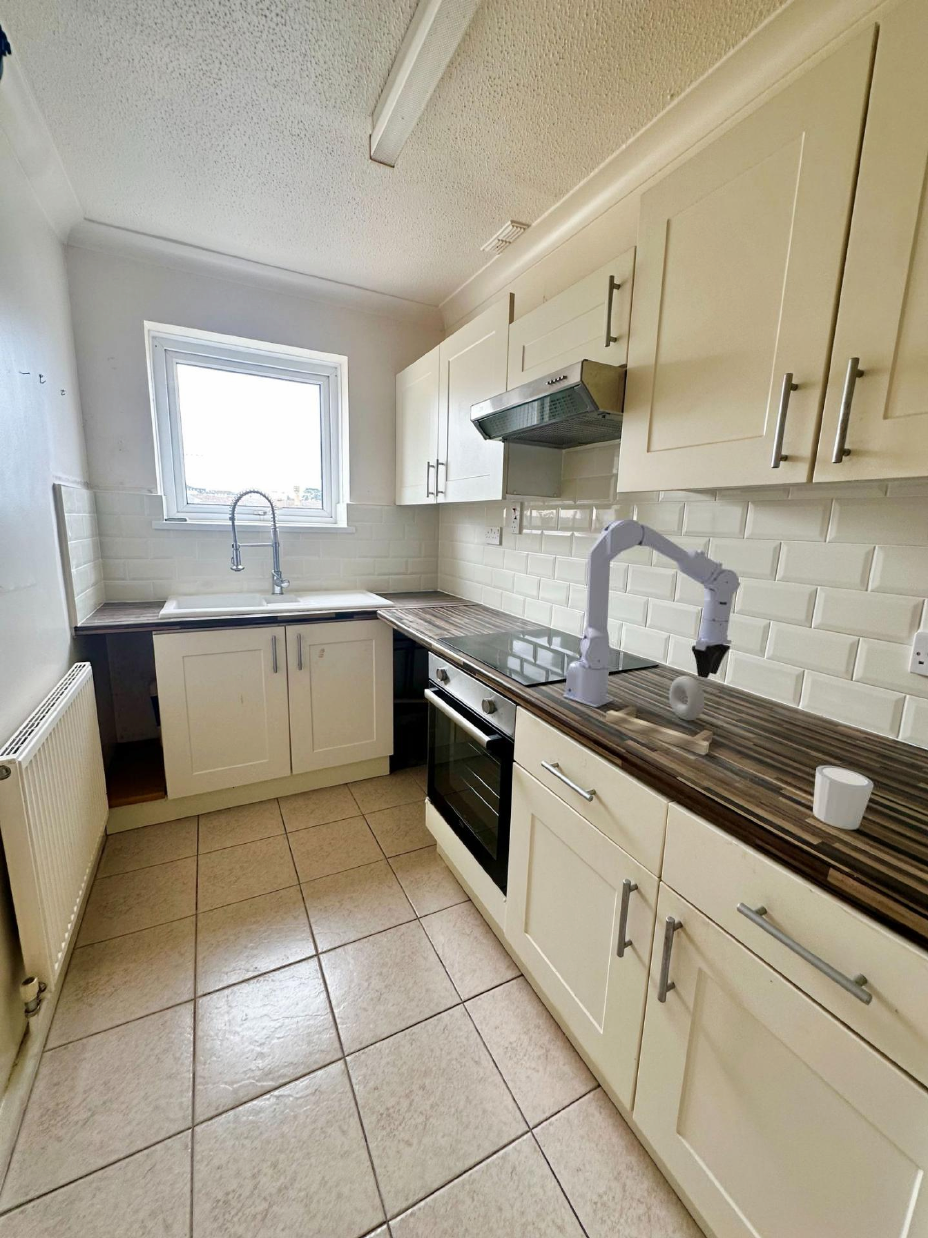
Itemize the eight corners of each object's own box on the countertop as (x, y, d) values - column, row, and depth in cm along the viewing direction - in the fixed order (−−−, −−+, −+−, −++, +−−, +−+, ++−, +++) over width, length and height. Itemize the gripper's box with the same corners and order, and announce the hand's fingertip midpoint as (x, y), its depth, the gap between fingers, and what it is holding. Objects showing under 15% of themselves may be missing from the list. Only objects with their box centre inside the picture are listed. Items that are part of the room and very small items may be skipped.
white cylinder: (872, 837, 70) (882, 792, 69) (815, 824, 72) (823, 781, 71) (854, 812, 76) (863, 770, 75) (802, 801, 79) (810, 761, 77)
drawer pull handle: (605, 720, 108) (606, 712, 108) (623, 712, 114) (624, 704, 113) (703, 755, 94) (705, 745, 93) (719, 744, 99) (720, 734, 99)
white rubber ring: (704, 727, 107) (711, 684, 105) (691, 728, 107) (697, 684, 105) (676, 709, 117) (681, 669, 115) (663, 710, 116) (668, 670, 114)
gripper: (722, 625, 108) (713, 684, 110) (744, 619, 118) (735, 674, 120) (689, 620, 113) (681, 677, 115) (713, 614, 122) (705, 667, 125)
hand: (707, 675), depth 118 cm, fingers open, 5 cm apart
